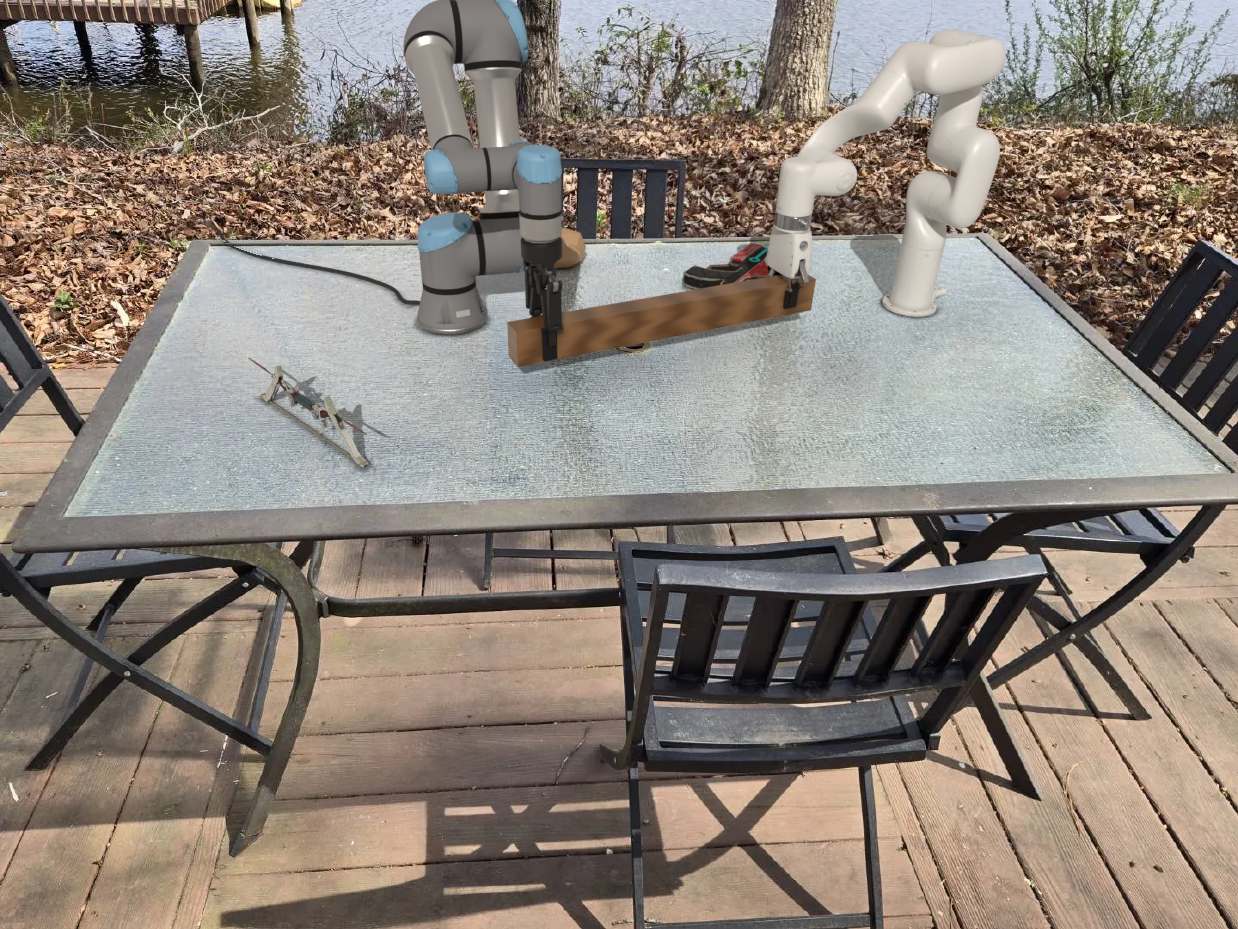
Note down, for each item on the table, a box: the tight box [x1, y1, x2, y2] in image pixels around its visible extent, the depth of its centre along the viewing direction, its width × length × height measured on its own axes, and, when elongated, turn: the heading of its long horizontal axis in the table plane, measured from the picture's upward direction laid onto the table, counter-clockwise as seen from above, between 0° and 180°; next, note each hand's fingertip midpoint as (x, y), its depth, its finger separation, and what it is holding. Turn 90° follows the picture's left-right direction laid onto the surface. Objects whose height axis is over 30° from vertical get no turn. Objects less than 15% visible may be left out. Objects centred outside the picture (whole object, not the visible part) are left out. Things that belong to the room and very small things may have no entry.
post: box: [506, 274, 817, 368], centre depth 180 cm, size 69×5×7 cm, turn 116°
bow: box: [247, 356, 370, 468], centre depth 154 cm, size 39×2×10 cm, turn 47°
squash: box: [554, 227, 587, 269], centre depth 226 cm, size 11×20×9 cm, turn 90°
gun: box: [682, 242, 769, 290], centre depth 221 cm, size 4×31×19 cm
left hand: (544, 352), depth 171 cm, fingers closed on post, 5 cm apart
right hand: (781, 301), depth 191 cm, fingers closed on post, 5 cm apart
